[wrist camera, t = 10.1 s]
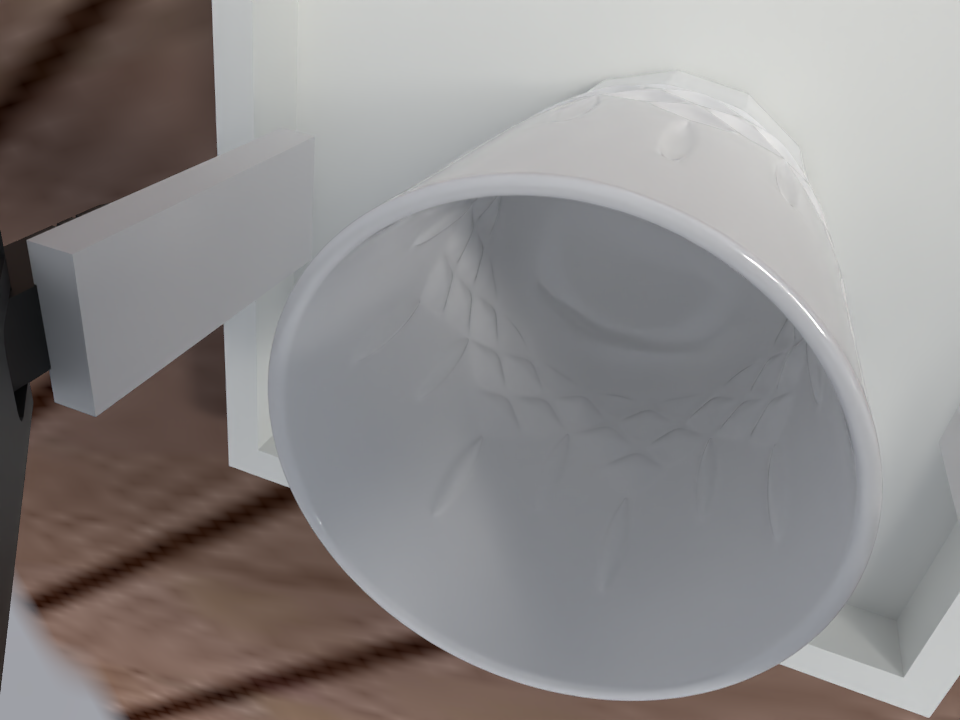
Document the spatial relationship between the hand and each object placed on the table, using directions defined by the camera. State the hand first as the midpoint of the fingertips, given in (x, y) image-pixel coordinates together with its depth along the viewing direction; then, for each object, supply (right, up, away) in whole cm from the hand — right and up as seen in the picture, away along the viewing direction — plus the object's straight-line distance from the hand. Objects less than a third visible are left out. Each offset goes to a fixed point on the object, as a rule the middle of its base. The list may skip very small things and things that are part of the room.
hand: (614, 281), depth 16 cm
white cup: (+2, +2, +3) cm, 4 cm away
